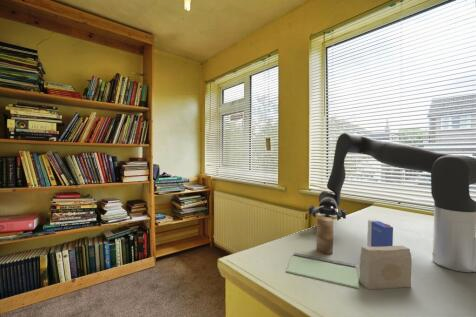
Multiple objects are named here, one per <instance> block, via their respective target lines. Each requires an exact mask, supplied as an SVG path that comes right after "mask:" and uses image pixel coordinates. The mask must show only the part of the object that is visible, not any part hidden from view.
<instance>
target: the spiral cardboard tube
mask: <svg viewBox="0 0 476 317" xmlns="http://www.w3.org/2000/svg"><path fill="white" fill-rule="evenodd" d="M333 245H334V219H333V218H332V217H324V216H321V217H320V216H319V217H317V218H316V248H315V249H316V252H317V253H319V254H321V255H324V256H325V255H326V256H330V255H332V254H333V253H334V246H333Z"/></svg>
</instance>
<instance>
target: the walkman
mask: <svg viewBox="0 0 476 317" xmlns="http://www.w3.org/2000/svg"><path fill="white" fill-rule="evenodd" d="M366 239H367V240H366V241H367V242H366V247H385V246H394V245H393V244H394V242H393V241H394V227H393V226H391V224H389V223H384V222H382V221H380V220H377V219H367V238H366Z"/></svg>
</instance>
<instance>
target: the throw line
mask: <svg viewBox="0 0 476 317" xmlns="http://www.w3.org/2000/svg"><path fill="white" fill-rule="evenodd" d="M293 256H296V257H301V258H306V259H311V260H317V261H322V262H327V263H332V264H337V265H342V266H347V267H352V268H356V267H357V265H356V264H355V263H351V262H344V261H339V260H335V259H330V258H324V257H319V256H314V255H309V254H302V253H297V252H294V253H293ZM356 269H357V268H356Z"/></svg>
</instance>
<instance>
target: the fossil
mask: <svg viewBox="0 0 476 317" xmlns="http://www.w3.org/2000/svg"><path fill="white" fill-rule="evenodd" d="M359 260H360V262H359V278H358V283H360V285H362V286H363V288H365V289H367V290H380V289H381V290H382V289H383V290H384V289H396V288H398V289H399V288H410V287H412V266H413V265H412V264H413V263H412V254H411V249H410V248H409V247H406V246H404V245H393V246H385V247H367V246H361V249H360V259H359Z"/></svg>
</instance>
